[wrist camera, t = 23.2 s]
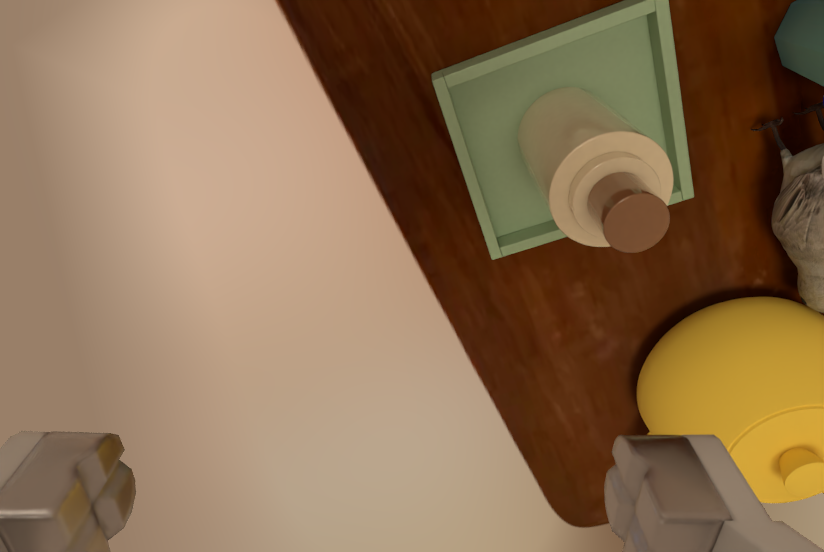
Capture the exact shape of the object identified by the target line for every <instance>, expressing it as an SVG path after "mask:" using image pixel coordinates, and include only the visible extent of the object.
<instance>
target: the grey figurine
mask: <svg viewBox="0 0 824 552" xmlns="http://www.w3.org/2000/svg"><path fill="white" fill-rule="evenodd" d="M821 108H824V105H823V102H821V103H818V104H815V105H812V106H810V107H809V108H805V109H806V110H805V111H803V112H801V113H794V114H806V113H809V112H811V111H815V110H816V113H817V116H818V120H819V123H820V125H821V127H822V129H823V130H824V118H823V115H822V112H821ZM782 122H783V118H782V117H781V119H780V120H778V119H776V120H773V121H770V122H768V123H766V124H765V125H764V124H762V125H763V127H761V128H759V129H751V130H753V131H761V130H764V129H767V128H769V127H771V128H772V131H773V134H774V137H775V140H776V143H777V145H778V146H779V148H780V149H781V153H780V154H781V158H782V163H783V171H784V177H783V182H782V186H781V192H780V194H779V196H778V197H777V199H776V201H775V203H774V207H773V211H772V229H773V232H774V234H775V235H776V237H777V238H778V240H779V241H780V242H781V244H782V246H783V248H784V249H785V251H786V252H787V254H788V256H789V257H790V259H791V260H792V262H793V263H794V264H795V266H796V267H797V269H798V282H797V285H798V293H799V295H800V297H801V300H802V302H803V303H804V304H806V305H807V306H808V307H810V308H812V309H813V310H815V311H818V312H821V313H824V143H823V144H820V145H816V146H814V147H811V148H809V149H806V150H804V151H802V152H800V153H798V154H796V155H795V156H792V154H791V153H790V151H789V150H788V149H786V147H785V145H784V144H783V142H782V141H781V139H780V137H779V134H778V131H777V128H776V126H777V125H781V124H782Z"/></svg>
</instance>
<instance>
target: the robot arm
mask: <svg viewBox="0 0 824 552" xmlns="http://www.w3.org/2000/svg"><path fill="white" fill-rule="evenodd" d="M123 452H124V447H123V445H122V442H121V440H120V437H119V435H115V434H111V433H83V432H29V431H28V432H27V431H21V432H19V433H17V434H15V435H13V436H11V437H10V438H9V439H8V440H7V442H6V443H5V444H4V445H3V446H2V447H1V449H0V552H110V548H109V544H108V540H109V539H110V538H112V537H113V536H114V535H116V534H117V533H118V532H119V531H121V530H122V529H123V528H124V527H125V525H126V523H127V521H128V519H129V516H130V514H131V512H132V508H133V504H134V499H135V494H136V489H135V478H134V475H133V472H132V469H131V468H129V467H128V466H127V465H125V464H124V463H123V462H121V461H120V460H119V459H120V457H121V455H122V454H123ZM612 454H613V456H614V459H615V462H616V465H615V466H613V467H612V468H611V469H610V470H608V471H607V475H606V480H605V486H604V491H605V506H606V511H607V516H608V520H609V523H610V526H611V529H612V531H613V532H614V533H615V534H616V535H617V536H618V537H620V538H621V539H622V540H623V541H624V542H625V543H624V547H623V551H622V552H824V550H823V549H821V548H820V547H818V546H817V545H816V544H814V543H813V542H811V541H810V540H808V539H807V538H805V537H804V536H803V535H801V534H800V533H798V532H797V531H795V530H794V529H793V528H791V527H790V526H788V525H787V524H785V523H784V522H783V521H772V520H771V518H770V517H769V515H768V514H767V512H766V510H765V509H764V508H763V506H762V504H761V503H760V501H759V500H758V498H757V496H756V495H755V493H754V492H753V490H752V489H751V487H750V485H749V484H748V482H747V481H746V479H745V478H744V476H743V474H742V473H741V471H740V470H739V468H738V467H737V465H736V463H735V462H734V460H733V459H732V457H731V456H730V454H729V452H728V451H727V449H726V448H725V446H724V445H723V443H722V441H721V440H720V439H719V438H718V437H716V436H715V435H619V436H618V437H617V439H616V440H615V442H614V446H613V450H612Z"/></svg>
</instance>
